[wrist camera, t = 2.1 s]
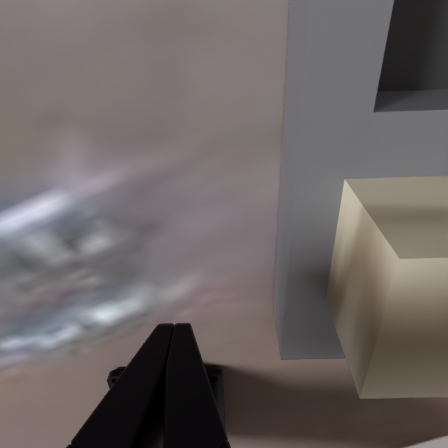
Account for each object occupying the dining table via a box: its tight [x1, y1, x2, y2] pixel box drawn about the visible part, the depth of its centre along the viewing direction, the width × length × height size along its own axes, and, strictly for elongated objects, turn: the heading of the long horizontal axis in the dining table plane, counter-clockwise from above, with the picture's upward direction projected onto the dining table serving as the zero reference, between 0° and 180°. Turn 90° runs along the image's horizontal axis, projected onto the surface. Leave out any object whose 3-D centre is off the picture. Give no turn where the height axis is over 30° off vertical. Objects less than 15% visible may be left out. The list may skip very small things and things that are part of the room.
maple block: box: [326, 176, 448, 399], centre depth 10 cm, size 5×5×4 cm
